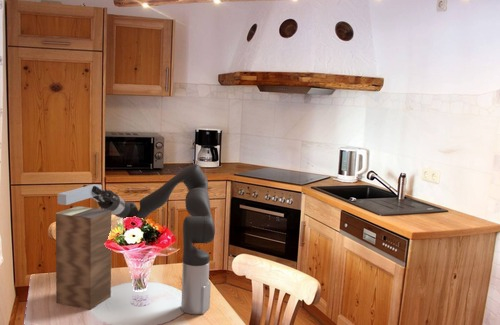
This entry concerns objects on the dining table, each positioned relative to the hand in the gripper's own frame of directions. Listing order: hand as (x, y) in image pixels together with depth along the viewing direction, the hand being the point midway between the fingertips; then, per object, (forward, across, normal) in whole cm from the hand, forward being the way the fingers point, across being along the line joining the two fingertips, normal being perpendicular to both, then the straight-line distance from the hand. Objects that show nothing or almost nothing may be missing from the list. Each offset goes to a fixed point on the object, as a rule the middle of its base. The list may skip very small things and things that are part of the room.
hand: (88, 187), depth 176 cm
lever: (+2, 0, -5) cm, 6 cm away
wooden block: (-12, -4, -38) cm, 40 cm away
